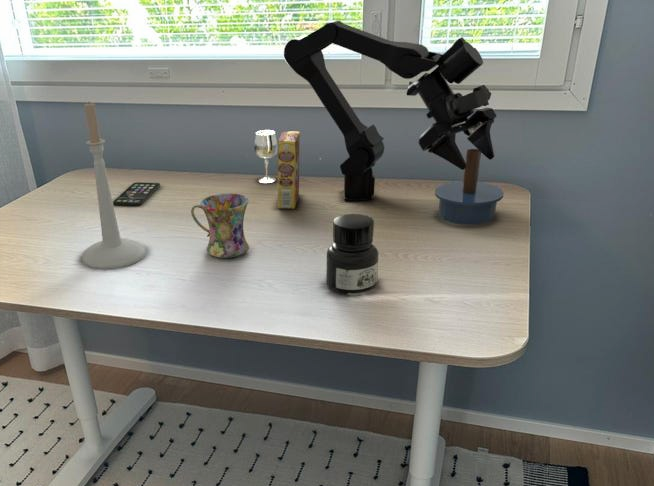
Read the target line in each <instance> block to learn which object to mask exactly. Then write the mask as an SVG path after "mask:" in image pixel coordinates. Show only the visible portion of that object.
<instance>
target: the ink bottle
mask: <svg viewBox="0 0 654 486" xmlns="http://www.w3.org/2000/svg"><path fill="white" fill-rule="evenodd" d="M332 225H333V226H332V238H333V239H332V241H333V243H332V244H331V245H330V246H329V247H328V248H327V250H326V277H325V278H326V279H325V280H326V285H327V287H328V288H329V289H330V290H332V291H333V292H335V293H337V294H341V295H349V294H362V293H365V292H368V291H371V290H373V289H375V287H376V286H377V285H378V274H379V273H378V272H379V250H378V248H377V247H376V246H375V245H374V244H373V242H374V232H375V231H374V229H375V220H374V219H373V217H371V216H369V215H365V214H360V213H349V214H348V213H347V214H343V215H339V216H337V217H335V218H334V220H333V223H332Z"/></svg>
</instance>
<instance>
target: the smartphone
mask: <svg viewBox="0 0 654 486" xmlns="http://www.w3.org/2000/svg"><path fill="white" fill-rule="evenodd" d="M160 186H161V184H160V183H159V182H141V181H140V182H139V181H138V182H133V183H132V184H131V185H129V186H128V187H127V188H126V189H125V190H124V191H123V192H122V193H121V194H120V195H119V196H118V197H117V198H115V199H113V200H112V201H113V206H114V205H115V206H141V205H142V204H144V203H145V201H147V200H148V199H149V198H150V196H152V194H153V193H155V192H156V191H157V190H158V189H159V187H160Z"/></svg>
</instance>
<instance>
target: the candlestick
mask: <svg viewBox="0 0 654 486" xmlns="http://www.w3.org/2000/svg"><path fill="white" fill-rule="evenodd" d="M83 108H84V113H85V120H86V127H87V131H88V138H89V140H88V141H86V142H85V144H86V145H88V147H89V152H90V153H91V154H92V156H93V169H94V177H95V185H96V186H95V187H96V195H97V201H98V209H99V210H98V212H99V220H100V227H101V236H102V238H101V240H100V241H97V242H95V243H93V244H92V245H90V246H89V247H87V248H86V249H85V250H84V251H83V252H82V255H81V259H82V262H83V264H85V265H86V266H87V267H90V268H93V269H100V270H101V269H102V270H103V269H104V270H108V269H118V268H119V269H120V268H123V267H128V266H131V265H133V264H136V263H137V262H139V261H141V260H142V259H143V258H144V257H145V256H146V247H145V246H144V245H143V244H142V243H141V242H138V241H137V240H134V239H132V238H131V239H130V238H122V237H121V234H120V230H119V229H120V228H119V225H118V220H117V216H116V210H115V206H114V204H113V201H114V200H113V197H112V191H111V187H110V183H109V177H108V172H107V169H106V164H105V163H106V162H105V160H104V158H103V154H104V153H103V152H104V150H105V148H104V144H105V143H106V140H105V139H102V138H101V133H100V132H101V131H100V126H99V121H98V113H97V109H96V108H97V107H96V104H95V103H93V102H90V101H88V103H84V105H83Z"/></svg>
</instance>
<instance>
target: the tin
mask: <svg viewBox="0 0 654 486" xmlns="http://www.w3.org/2000/svg"><path fill="white" fill-rule="evenodd" d="M438 200H439V201H438V210H437V215H438V216H439V218H440V219H442V220H443V221H445V222H448V223H452V224H458V225H469V226H471V225H481V224H486V223H489V222H491V221H492V220H494V218H495V215H496V209H497V203H498V202H495V203H492V204H487V205H477V206H469V205H458V204H452V203H448V202H445V201H442V200H440V199H438Z"/></svg>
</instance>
